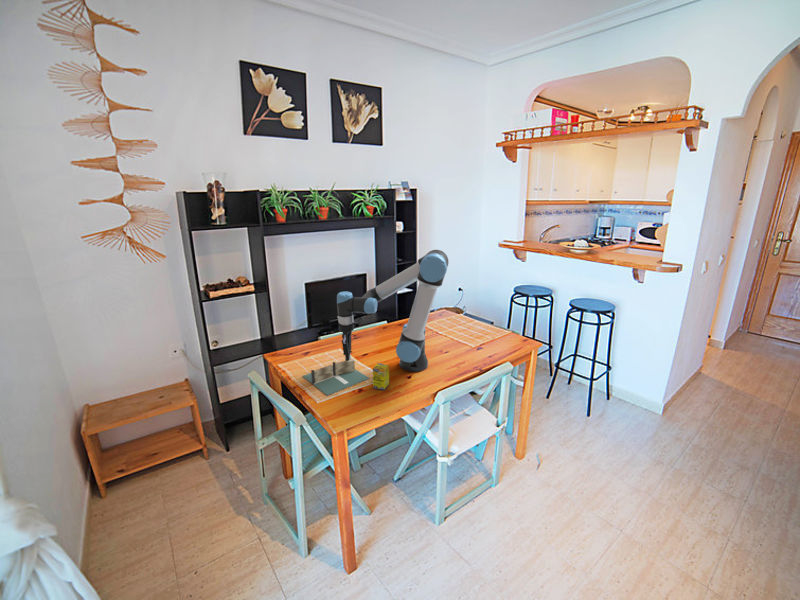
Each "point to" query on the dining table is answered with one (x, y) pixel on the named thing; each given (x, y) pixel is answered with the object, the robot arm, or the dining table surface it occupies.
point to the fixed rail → (322, 374)
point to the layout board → (338, 381)
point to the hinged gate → (343, 367)
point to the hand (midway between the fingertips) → (348, 365)
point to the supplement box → (380, 376)
